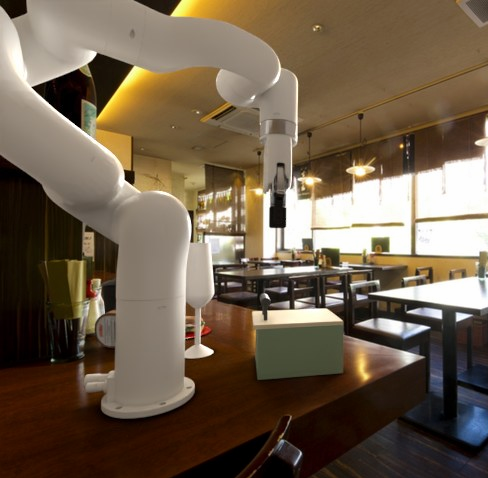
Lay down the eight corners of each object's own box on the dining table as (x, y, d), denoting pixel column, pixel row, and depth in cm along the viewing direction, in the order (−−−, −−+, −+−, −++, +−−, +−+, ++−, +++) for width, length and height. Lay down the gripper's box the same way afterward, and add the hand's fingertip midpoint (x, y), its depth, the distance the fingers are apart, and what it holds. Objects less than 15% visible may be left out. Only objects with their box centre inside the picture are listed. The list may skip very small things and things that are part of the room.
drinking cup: (95, 340, 80) (96, 258, 81) (106, 332, 88) (107, 257, 88) (129, 338, 82) (131, 258, 83) (138, 330, 90) (139, 257, 90)
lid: (253, 329, 57) (253, 301, 57) (251, 315, 70) (252, 291, 70) (343, 325, 61) (343, 298, 61) (326, 311, 73) (327, 289, 73)
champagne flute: (173, 356, 69) (175, 242, 70) (194, 347, 76) (196, 243, 76) (200, 359, 67) (202, 242, 68) (219, 350, 74) (221, 243, 74)
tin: (162, 347, 75) (163, 310, 76) (154, 351, 72) (155, 313, 72) (101, 344, 77) (102, 308, 77) (91, 348, 74) (92, 311, 74)
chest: (257, 380, 57) (258, 329, 57) (255, 356, 70) (255, 314, 70) (343, 373, 61) (343, 325, 61) (326, 351, 73) (326, 312, 73)
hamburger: (158, 328, 92) (159, 307, 92) (211, 325, 96) (211, 304, 97) (148, 342, 79) (149, 317, 79) (210, 338, 83) (210, 314, 83)
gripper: (257, 145, 72) (256, 229, 71) (261, 119, 57) (260, 225, 57) (291, 148, 73) (291, 230, 73) (303, 123, 59) (302, 226, 58)
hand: (277, 227), depth 65 cm, fingers closed
